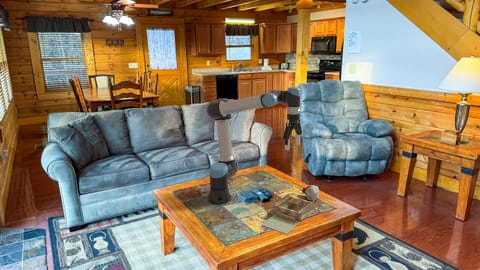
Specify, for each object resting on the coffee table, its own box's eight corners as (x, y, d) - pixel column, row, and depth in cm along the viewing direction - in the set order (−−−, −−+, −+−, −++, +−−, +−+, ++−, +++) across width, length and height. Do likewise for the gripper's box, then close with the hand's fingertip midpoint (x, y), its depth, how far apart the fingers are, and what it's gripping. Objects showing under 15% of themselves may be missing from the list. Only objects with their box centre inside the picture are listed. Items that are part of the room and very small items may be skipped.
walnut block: (287, 210, 195) (287, 201, 193) (292, 207, 199) (292, 198, 198) (296, 213, 191) (296, 204, 190) (301, 209, 196) (301, 200, 194)
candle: (317, 203, 204) (297, 199, 215) (326, 197, 212) (306, 194, 223) (316, 190, 203) (296, 186, 213) (325, 184, 211) (305, 181, 221)
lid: (261, 226, 181) (261, 220, 180) (275, 214, 193) (275, 209, 192) (286, 235, 172) (286, 229, 171) (300, 222, 184) (300, 217, 183)
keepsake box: (274, 212, 194) (274, 203, 193) (287, 202, 207) (288, 193, 206) (301, 221, 184) (301, 211, 182) (314, 210, 197) (314, 200, 195)
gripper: (288, 117, 182) (287, 153, 187) (308, 110, 202) (306, 143, 207) (277, 115, 187) (276, 151, 192) (297, 109, 206) (296, 141, 211)
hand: (292, 147), depth 199 cm, fingers open, 13 cm apart
